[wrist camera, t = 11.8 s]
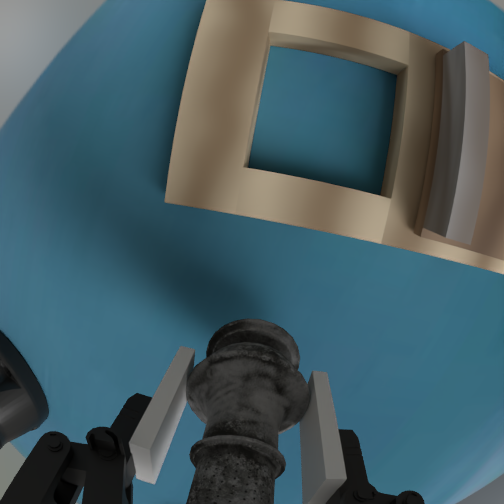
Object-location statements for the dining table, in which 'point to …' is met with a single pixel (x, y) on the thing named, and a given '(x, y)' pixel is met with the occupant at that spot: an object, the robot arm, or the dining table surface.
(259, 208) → the puzzle board
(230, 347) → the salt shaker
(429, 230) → the sliding cover
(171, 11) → the dining table surface
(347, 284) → the dining table surface
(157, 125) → the dining table surface
